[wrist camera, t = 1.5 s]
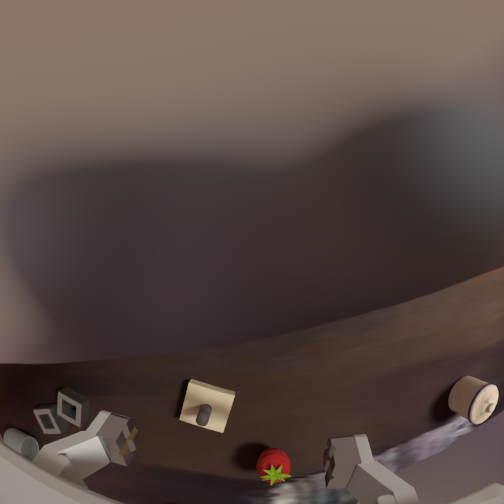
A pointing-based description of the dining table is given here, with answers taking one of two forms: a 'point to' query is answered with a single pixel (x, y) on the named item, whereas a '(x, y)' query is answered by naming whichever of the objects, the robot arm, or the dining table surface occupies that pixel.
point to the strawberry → (273, 465)
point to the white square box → (50, 419)
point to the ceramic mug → (21, 443)
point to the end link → (76, 399)
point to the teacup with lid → (473, 399)
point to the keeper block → (207, 405)
